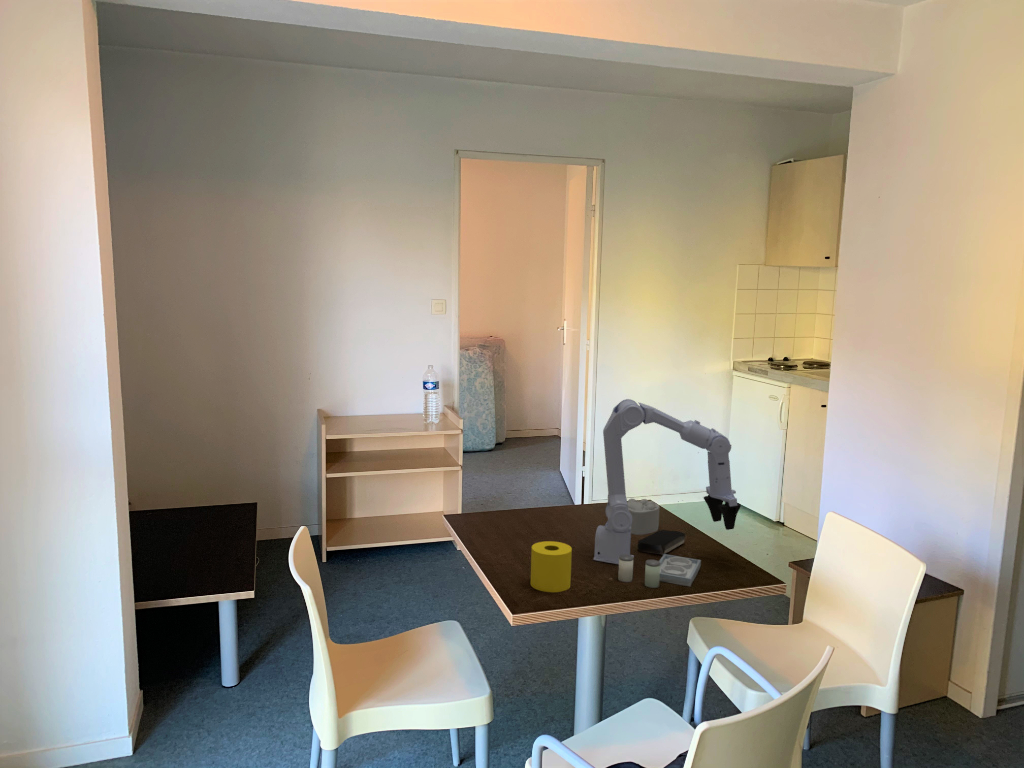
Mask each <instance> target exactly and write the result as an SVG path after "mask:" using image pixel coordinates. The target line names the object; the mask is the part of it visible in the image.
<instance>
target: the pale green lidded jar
mask: <svg viewBox="0 0 1024 768" xmlns="http://www.w3.org/2000/svg"><path fill="white" fill-rule="evenodd" d="M659 561H660V560H656V559H647V560H645V571H644V586H646V587H647V588H651V589H652V588H653V589H655V588H659V587H660V581H659V577H660V562H659Z"/></svg>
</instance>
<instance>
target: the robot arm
mask: <svg viewBox="0 0 1024 768" xmlns="http://www.w3.org/2000/svg"><path fill="white" fill-rule="evenodd" d="M642 423H643V425H647V424H648V425H649V424H653V423H654V424H657V425H660V426H662V427H664V428H667V429H669V430H672V431H674V432H676V433H679V437H680V439H681V440H682V441H685V442H687V443H689V444H690V445H692V446H694V447H695V446H696V447H698V448H700V449H703V450H706V451H707V469H708V481H709V486H706V487H705V489H706V491H705V492H706V494H708V495H706V496H703V501H705V503H706V504H707V508H708V510H709V514H710V516H711V519H712V521H713V522H714V523H717V522H721V521H722V519H723V525H724V528H725V530H727V531H729V530H734V529H735V524H736V519H737V515H738V512H739V511H740V509H741V503H739V502H738V498H737V497H735V495H736V494H737V493H736V490H735V489H732V477H731V465H730V464H731V462H730V456H729V455H730V454H729V453H730V451H731V450H732V444H731V442H730V440H729V438H728V437H726V436H725V435H723V434H722V433H720V432H719V431H718V430H716V429H715V428H711V429H710V428H708V427H706V426H704V425H702V424H701V422H700V420H696V419H694V421H693V420H687V421H681V420H680V419H678V418H676V417H674V416H671V415H670V414H668V413H666V412H664V411H662V410H659V409H658V408H656V407H653V406H650V405H649V404H645V403H642V402H638V403H637V401H635V400H633V399H631V398H630V399H629V398H626V399H623V400H621V401H619V403H617V404H616V405H614V407H613V409H612V412H611V414H610V415H609V418H608V420H607V422H606V424H605V425H604V427H603V429H602V430H603V431H602V434H603V435H602V436H603V443H604V444H603V446H604V459H605V469H606V482H607V504H606V507H605V510H604V511H605V515H606V518H607V521H606V523H605V524H604V525H601V524H600V525H598V526H597V527H596V531H595V536H594V554H593V555H594V557H593V561H597V562H602V563H603V562H604V563H609V564H615V565H619V556H620V555H623V554H626V555H631V556H633V559H634V558H635V555H633V554H631V541H632V539H631V538H632V534H631V525H632V515H631V514H630V512H629V510H628V504H627V502H628V498H627V493H626V482H625V469H624V457H623V455H624V454H623V446H622V445H623V444H622V438H623V437H624V436H625V435H626V434H627V433H628V432H629V431H631V430H633V429H635V428H637V427H639V426H640V425H642Z"/></svg>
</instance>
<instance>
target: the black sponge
mask: <svg viewBox="0 0 1024 768" xmlns="http://www.w3.org/2000/svg"><path fill="white" fill-rule="evenodd" d="M685 539H686V534H685V533H684V532H681V531H677V530H676V531H675V530H668V529H661V530H660V529H659V530H657V531H656V532H653V533H651V534H650V535H649V534H648V536H645V537H644V538H642V539H639V540H638V541H637V549H638V551H639V552H644V553H650V554H655V555H656V554H657V555H662V556H663V555H664V554H667V553H669V552H670V551H672V550H674V549H676V548H677V547H679V546H680V545H681V546H682V544H684V543H685Z"/></svg>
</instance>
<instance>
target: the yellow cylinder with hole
mask: <svg viewBox="0 0 1024 768" xmlns="http://www.w3.org/2000/svg"><path fill="white" fill-rule="evenodd" d="M572 550H573V549H572V547H571V546H570V545H569V544H567V543H564V542H561V541H560V542H559V541H539V542H535V543H534V544H533V545H531V551H530V552H531V555H530V556H531V557H530V584H529V585H530V586H531V587H532V588H533V589H535V590H537V591H541V592H546V593H560V592H565V591H567V590H569V589H570V588H571V584H572V583H571V580H572V579H571V578H572V577H571V576H572V554H573V553H572V552H573V551H572Z"/></svg>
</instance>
